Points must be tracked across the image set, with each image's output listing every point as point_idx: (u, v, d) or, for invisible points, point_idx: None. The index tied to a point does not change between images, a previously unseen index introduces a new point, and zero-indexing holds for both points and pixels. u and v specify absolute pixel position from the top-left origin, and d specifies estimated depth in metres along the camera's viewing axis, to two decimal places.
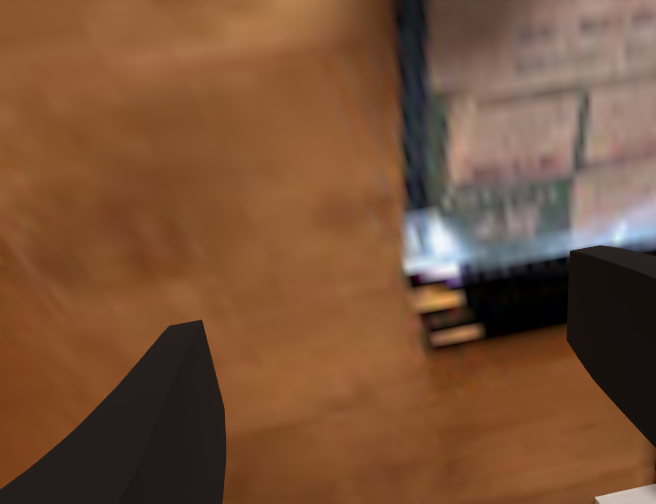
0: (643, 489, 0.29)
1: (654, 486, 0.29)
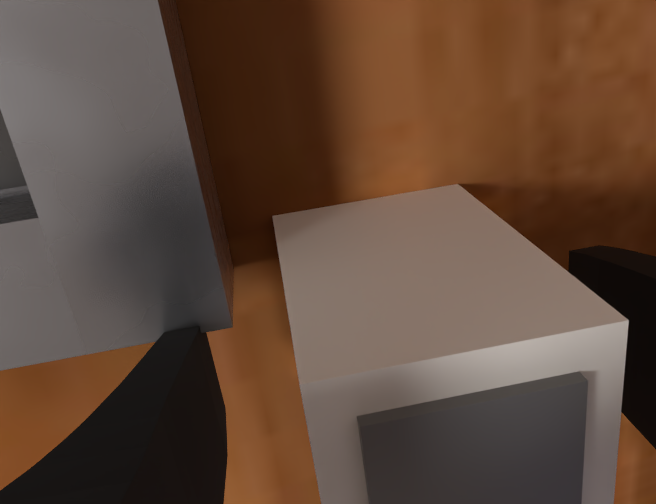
0: None
1: None
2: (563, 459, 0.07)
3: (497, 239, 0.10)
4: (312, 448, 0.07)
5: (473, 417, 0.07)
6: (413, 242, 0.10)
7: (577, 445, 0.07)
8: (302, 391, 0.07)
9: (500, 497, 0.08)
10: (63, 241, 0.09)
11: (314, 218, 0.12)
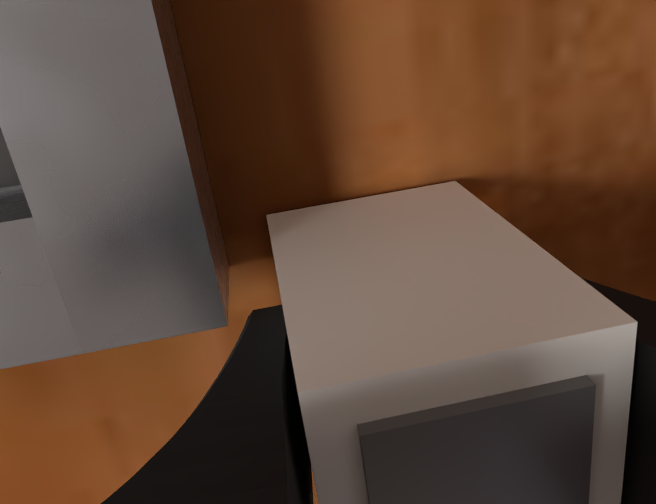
0: None
1: None
2: (570, 465, 0.07)
3: (498, 238, 0.09)
4: (311, 458, 0.07)
5: (478, 424, 0.07)
6: (412, 241, 0.10)
7: (584, 451, 0.07)
8: (300, 399, 0.06)
9: None
10: (57, 240, 0.09)
11: (309, 217, 0.11)
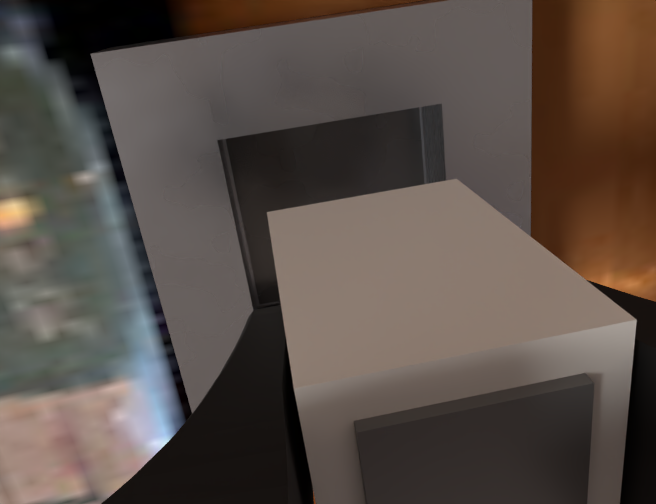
0: None
1: None
2: (568, 464, 0.07)
3: (498, 235, 0.09)
4: (307, 454, 0.07)
5: (475, 421, 0.07)
6: (411, 238, 0.10)
7: (582, 450, 0.07)
8: (296, 395, 0.06)
9: (503, 503, 0.07)
10: None
11: (310, 214, 0.11)
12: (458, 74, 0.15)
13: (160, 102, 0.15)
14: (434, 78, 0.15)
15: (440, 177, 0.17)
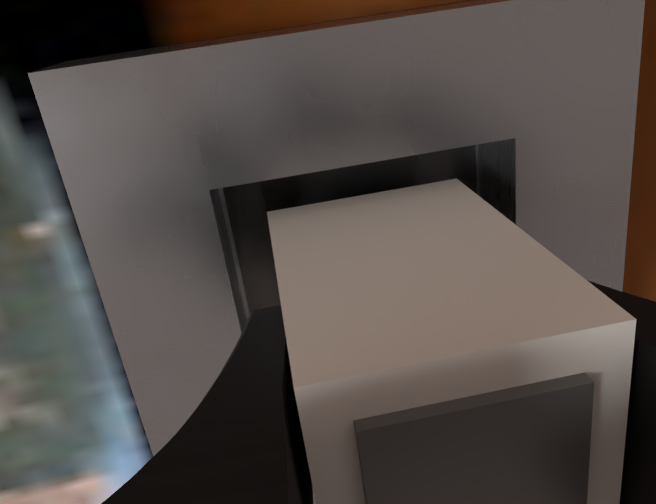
0: None
1: None
2: (568, 463, 0.07)
3: (498, 235, 0.09)
4: (307, 453, 0.07)
5: (475, 421, 0.07)
6: (411, 238, 0.10)
7: (582, 449, 0.07)
8: (296, 395, 0.06)
9: (502, 502, 0.07)
10: None
11: (310, 214, 0.11)
12: (539, 99, 0.11)
13: (129, 140, 0.10)
14: (507, 105, 0.11)
15: None
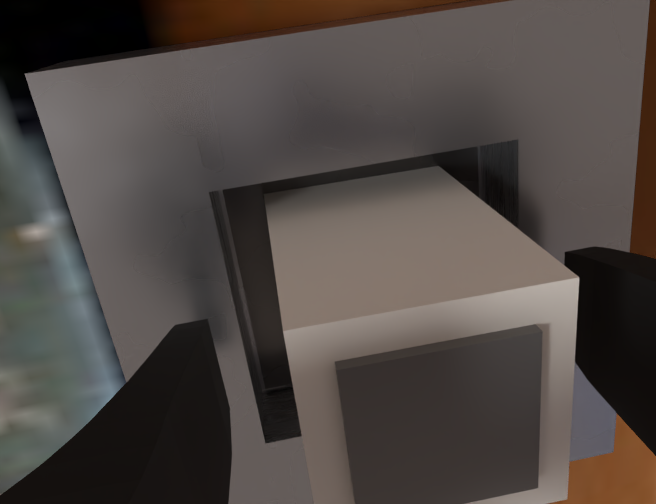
0: None
1: None
2: (521, 404, 0.08)
3: (470, 212, 0.10)
4: (294, 391, 0.08)
5: (439, 363, 0.08)
6: (393, 215, 0.11)
7: (533, 392, 0.08)
8: (285, 337, 0.08)
9: (465, 439, 0.08)
10: None
11: (303, 196, 0.12)
12: (543, 99, 0.11)
13: (127, 141, 0.10)
14: (510, 105, 0.11)
15: None
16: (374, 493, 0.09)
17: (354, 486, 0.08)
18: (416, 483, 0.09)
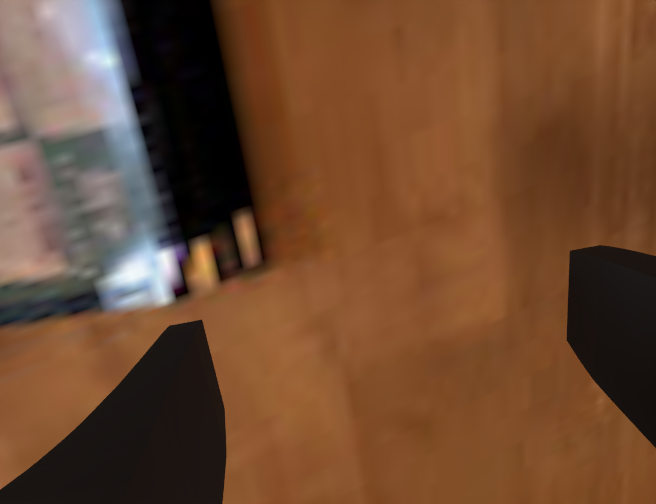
0: None
1: None
2: None
3: None
4: None
5: None
6: None
7: None
8: None
9: None
10: None
11: None
12: None
13: None
14: None
15: None
16: None
17: None
18: None
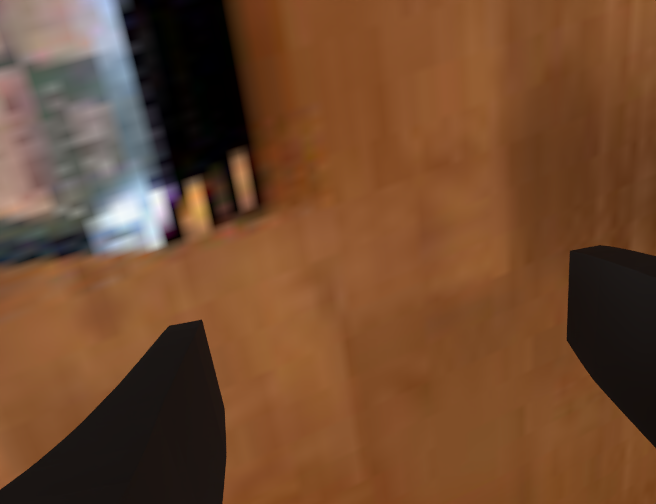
0: None
1: None
2: None
3: None
4: None
5: None
6: None
7: None
8: None
9: None
10: None
11: None
12: None
13: None
14: None
15: None
16: None
17: None
18: None
